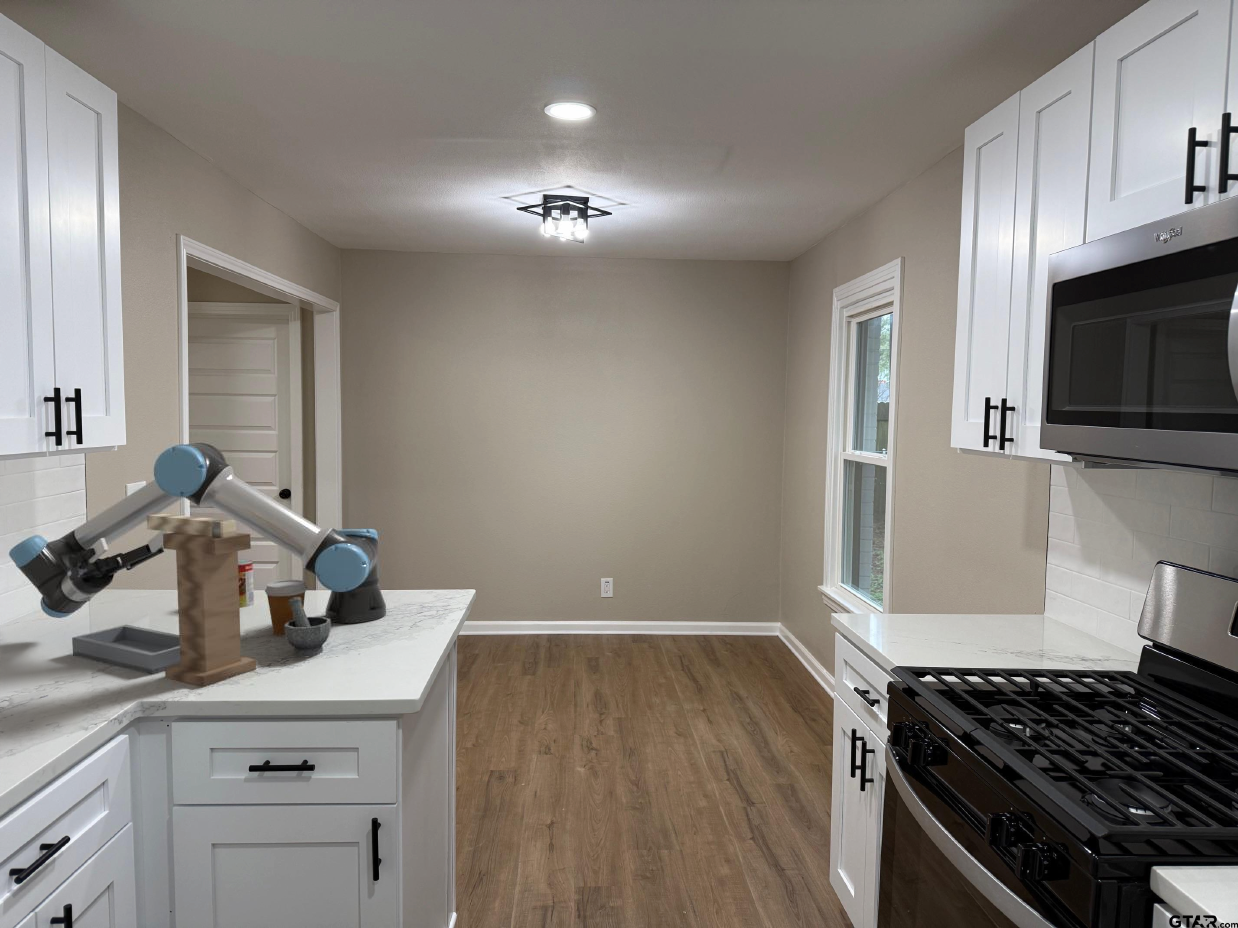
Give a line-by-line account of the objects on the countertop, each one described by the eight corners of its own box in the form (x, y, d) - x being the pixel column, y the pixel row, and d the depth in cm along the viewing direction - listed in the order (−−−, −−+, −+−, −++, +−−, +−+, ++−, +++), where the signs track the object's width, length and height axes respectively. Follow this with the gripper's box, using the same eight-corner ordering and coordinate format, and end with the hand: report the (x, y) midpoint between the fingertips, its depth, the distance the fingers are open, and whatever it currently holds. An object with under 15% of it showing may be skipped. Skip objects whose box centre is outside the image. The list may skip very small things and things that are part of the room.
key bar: (144, 529, 170) (144, 515, 170) (162, 526, 174) (162, 513, 174) (220, 538, 160) (220, 522, 159) (238, 535, 163) (238, 520, 163)
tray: (72, 655, 178) (72, 637, 178) (126, 641, 189) (126, 624, 189) (152, 674, 166) (152, 655, 165) (205, 658, 176) (205, 640, 176)
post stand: (159, 675, 165) (153, 535, 163) (212, 659, 176) (207, 527, 173) (211, 688, 158) (205, 541, 156) (262, 670, 168) (258, 532, 166)
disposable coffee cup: (282, 639, 190) (281, 589, 190) (257, 633, 196) (256, 584, 195) (316, 630, 199) (315, 582, 198) (292, 624, 204) (290, 577, 203)
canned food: (226, 602, 227) (224, 559, 226) (256, 600, 229) (255, 558, 228) (219, 608, 219) (217, 565, 218) (250, 607, 221) (249, 563, 220)
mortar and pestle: (339, 651, 181) (338, 598, 181) (301, 661, 174) (300, 607, 173) (311, 642, 188) (310, 591, 187) (273, 652, 181) (272, 599, 180)
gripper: (147, 583, 195) (195, 545, 186) (33, 605, 173) (82, 564, 164) (136, 555, 196) (184, 516, 187) (22, 574, 174) (70, 531, 165)
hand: (136, 538), depth 175 cm, fingers open, 13 cm apart
